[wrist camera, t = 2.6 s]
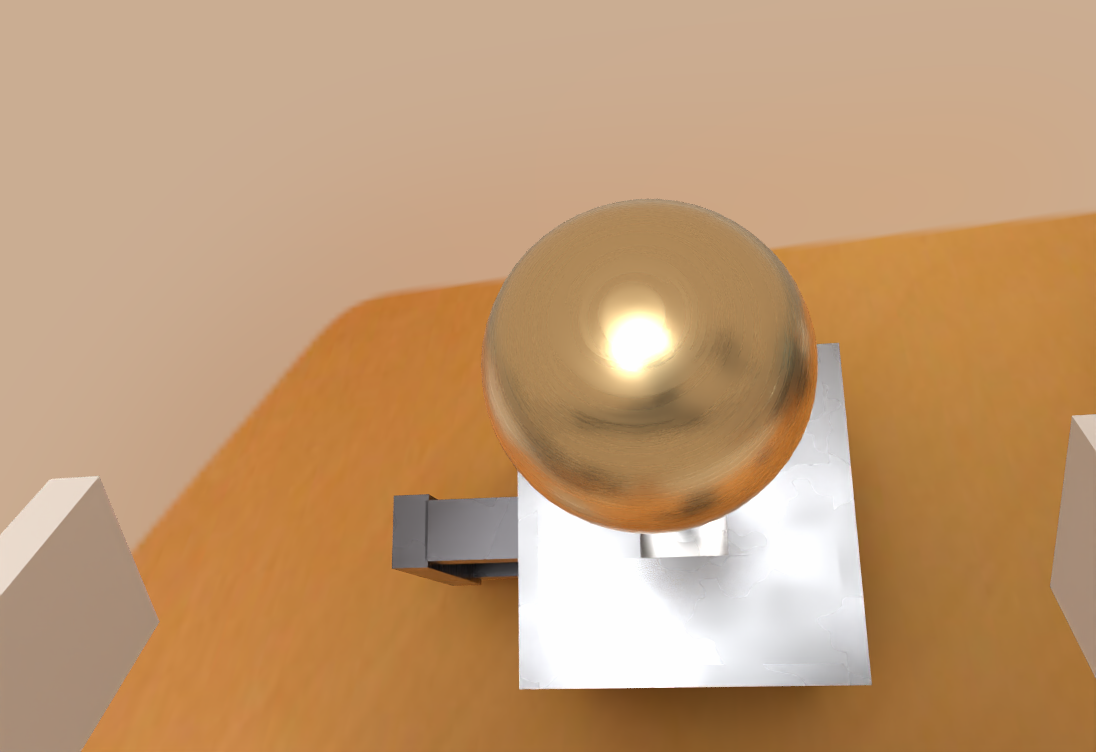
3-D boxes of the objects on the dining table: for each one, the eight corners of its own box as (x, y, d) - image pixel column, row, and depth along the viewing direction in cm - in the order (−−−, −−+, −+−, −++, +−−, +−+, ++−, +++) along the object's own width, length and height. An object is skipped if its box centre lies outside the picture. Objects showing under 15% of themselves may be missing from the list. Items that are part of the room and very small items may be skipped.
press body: (802, 438, 45) (838, 342, 31) (822, 677, 42) (872, 685, 29) (475, 453, 47) (378, 370, 33) (474, 681, 44) (368, 690, 31)
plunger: (799, 403, 34) (924, 8, 14) (820, 649, 32) (1006, 628, 11) (563, 415, 36) (346, 69, 15) (568, 654, 33) (321, 642, 13)
